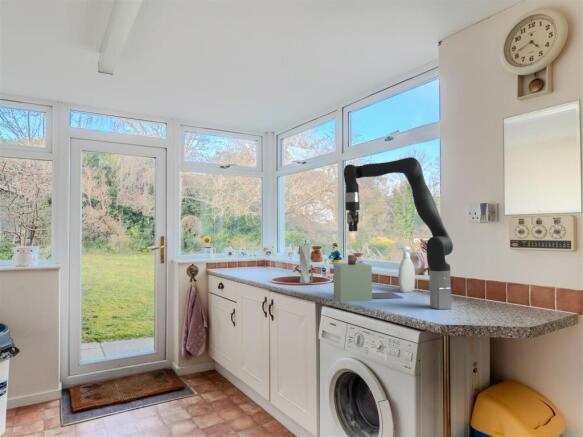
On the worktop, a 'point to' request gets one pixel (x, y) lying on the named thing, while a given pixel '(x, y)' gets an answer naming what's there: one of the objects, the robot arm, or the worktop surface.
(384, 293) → the mat
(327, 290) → the worktop surface
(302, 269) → the white pillar candle
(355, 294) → the cover
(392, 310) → the worktop surface
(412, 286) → the soap bottle
